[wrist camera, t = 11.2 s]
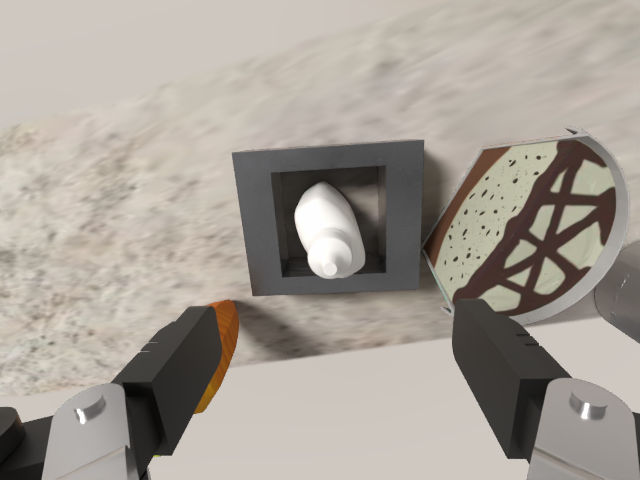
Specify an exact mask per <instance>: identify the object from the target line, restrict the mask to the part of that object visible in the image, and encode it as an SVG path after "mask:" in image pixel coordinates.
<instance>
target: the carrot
mask: <svg viewBox="0 0 640 480" xmlns="http://www.w3.org/2000/svg"><path fill="white" fill-rule="evenodd" d="M206 306H213V307H214V309H215V311H216V316H217V321H218V327H219V332H220V337H221V343H222V357H221V361H220V364H219V366H218V368H217V370H216V372H215V374H214V375H213V377H212V379H211V381H210V383H209V385H208V387H207V389H206V391H205V393H204V395H203V397H202V398H201V400H200V402H199V404H198V406H197V408H196V410H195V412H194V414H196V413H202V412H203V411H204V410H205V409H206V408H207V406H208V405H209V403H210V402H211V400H212V398H213V397H214V395H215V394H216V392H217V391H218V389H219V387H220V386H221V383H222V381H223V379H224V376H225V374H226V372H227V369H228V367H229V364H230V362H231V359H232V356H233V353H234V351H235V348H236V343H237V338H238V331H239V318H238V313H237V310H236V307H235V305H234V302H233V301H231V300H224V301H219V302H214V303H212V304H209V305H206ZM159 456H161V455H154V456H153V457H159Z"/></svg>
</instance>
